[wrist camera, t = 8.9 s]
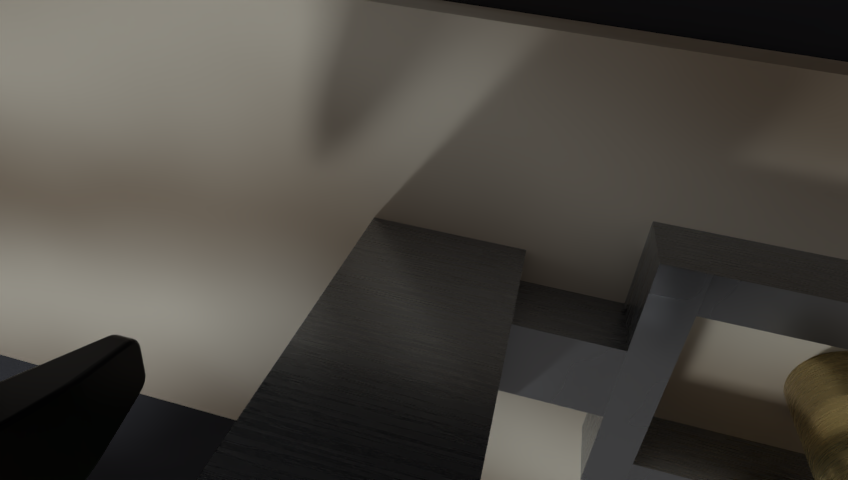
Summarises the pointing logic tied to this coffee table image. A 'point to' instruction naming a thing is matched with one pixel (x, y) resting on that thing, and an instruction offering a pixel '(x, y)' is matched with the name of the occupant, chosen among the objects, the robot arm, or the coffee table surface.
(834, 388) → the keeper post
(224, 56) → the tie-down board
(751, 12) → the coffee table surface
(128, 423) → the coffee table surface
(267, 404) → the end link
